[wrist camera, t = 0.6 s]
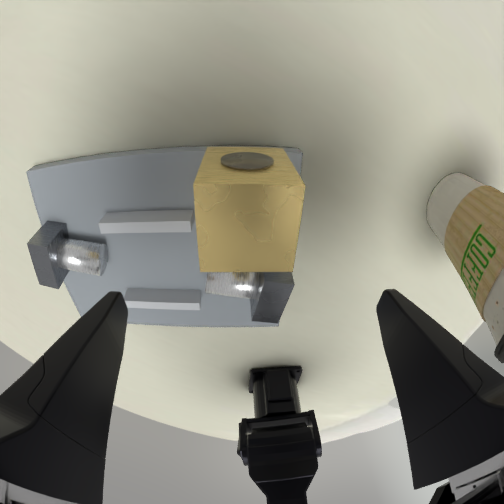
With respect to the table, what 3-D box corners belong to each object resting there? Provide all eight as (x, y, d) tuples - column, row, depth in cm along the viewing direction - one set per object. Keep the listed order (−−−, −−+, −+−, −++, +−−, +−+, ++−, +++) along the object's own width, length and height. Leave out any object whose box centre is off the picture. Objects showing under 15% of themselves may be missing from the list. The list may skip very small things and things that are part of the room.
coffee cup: (391, 235, 21) (483, 388, 9) (441, 133, 16) (596, 245, 4) (453, 257, 23) (527, 369, 11) (496, 179, 18) (598, 275, 6)
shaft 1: (105, 228, 18) (88, 254, 16) (110, 270, 21) (97, 297, 18) (47, 220, 17) (27, 243, 15) (56, 259, 20) (39, 284, 17)
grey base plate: (277, 316, 26) (280, 338, 24) (86, 310, 25) (77, 330, 23) (298, 148, 17) (308, 160, 15) (34, 165, 16) (15, 179, 14)
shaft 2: (205, 285, 22) (202, 315, 19) (211, 244, 20) (207, 273, 17) (273, 293, 23) (277, 323, 20) (287, 255, 21) (294, 284, 18)
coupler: (277, 215, 19) (292, 274, 14) (209, 215, 18) (200, 274, 13) (283, 145, 16) (305, 182, 11) (207, 144, 15) (193, 181, 11)
